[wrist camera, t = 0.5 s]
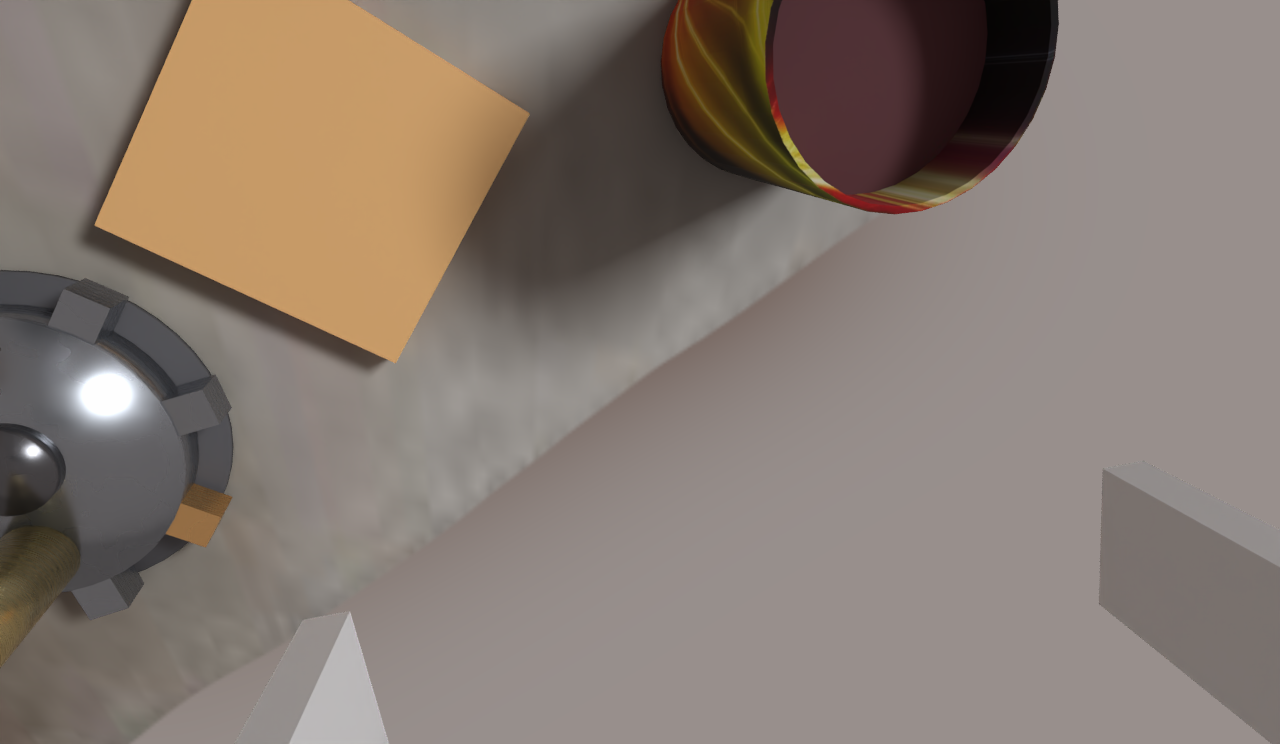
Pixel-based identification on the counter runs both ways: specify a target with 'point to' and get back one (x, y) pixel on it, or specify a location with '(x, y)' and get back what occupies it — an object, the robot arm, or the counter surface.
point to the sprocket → (91, 458)
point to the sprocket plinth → (166, 354)
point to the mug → (858, 92)
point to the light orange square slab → (311, 163)
